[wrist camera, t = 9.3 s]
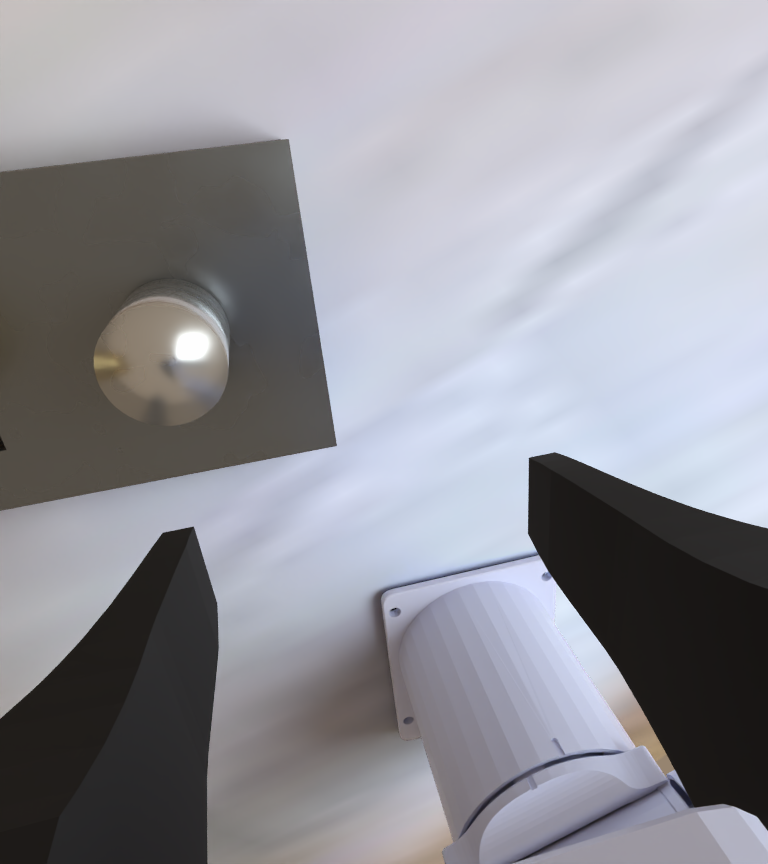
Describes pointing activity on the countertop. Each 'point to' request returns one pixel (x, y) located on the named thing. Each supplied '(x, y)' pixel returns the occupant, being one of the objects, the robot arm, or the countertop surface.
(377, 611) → the countertop surface
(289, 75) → the countertop surface
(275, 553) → the countertop surface
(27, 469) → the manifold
